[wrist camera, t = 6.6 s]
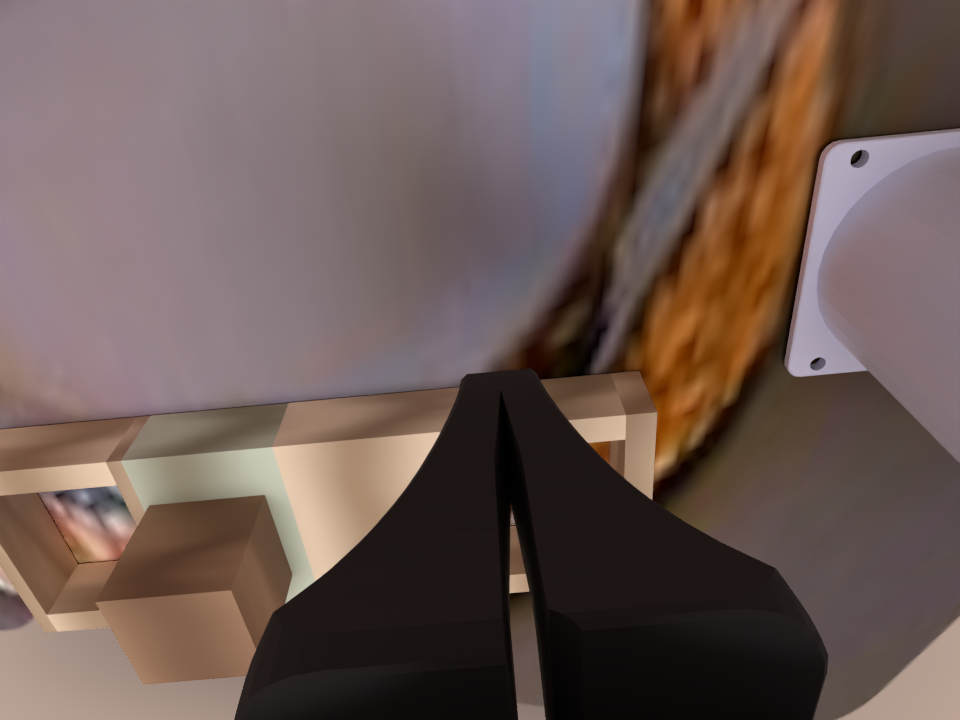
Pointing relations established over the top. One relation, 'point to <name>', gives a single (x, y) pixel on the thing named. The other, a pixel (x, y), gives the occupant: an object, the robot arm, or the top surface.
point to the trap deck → (267, 475)
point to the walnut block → (197, 588)
